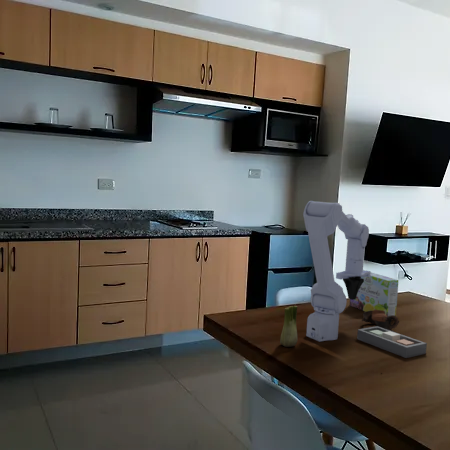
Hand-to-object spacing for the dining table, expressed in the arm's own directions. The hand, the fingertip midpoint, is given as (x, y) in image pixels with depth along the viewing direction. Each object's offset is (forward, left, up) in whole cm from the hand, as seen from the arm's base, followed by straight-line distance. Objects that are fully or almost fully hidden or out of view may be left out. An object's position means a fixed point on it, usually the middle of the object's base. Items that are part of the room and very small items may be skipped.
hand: (351, 298), depth 166 cm
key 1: (-4, -15, -9) cm, 18 cm away
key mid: (-4, -20, -8) cm, 22 cm away
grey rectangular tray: (-4, -20, -10) cm, 23 cm away
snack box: (+26, +13, -11) cm, 31 cm away
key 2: (-4, -25, -9) cm, 27 cm away
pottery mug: (+8, -6, -11) cm, 15 cm away
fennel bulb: (-31, -5, -11) cm, 33 cm away
